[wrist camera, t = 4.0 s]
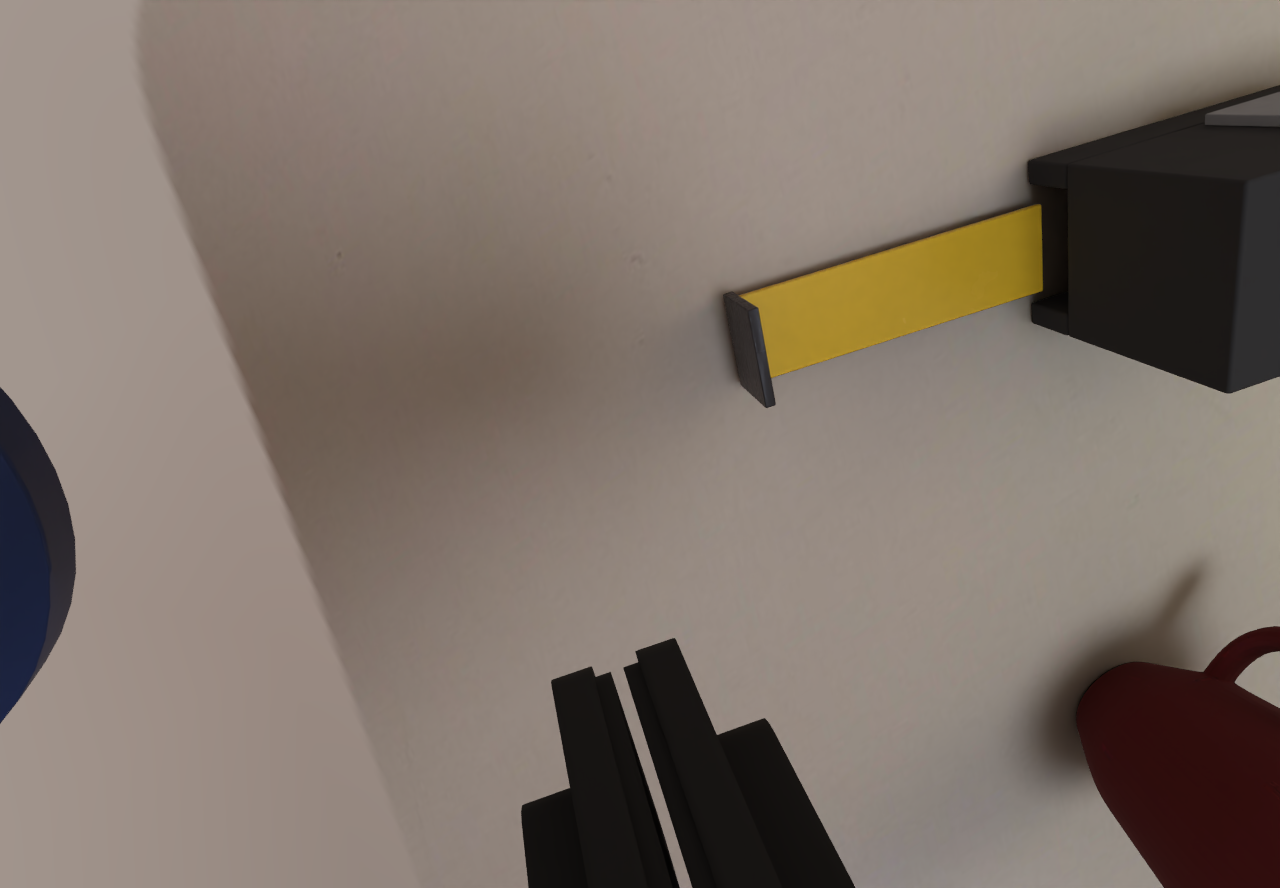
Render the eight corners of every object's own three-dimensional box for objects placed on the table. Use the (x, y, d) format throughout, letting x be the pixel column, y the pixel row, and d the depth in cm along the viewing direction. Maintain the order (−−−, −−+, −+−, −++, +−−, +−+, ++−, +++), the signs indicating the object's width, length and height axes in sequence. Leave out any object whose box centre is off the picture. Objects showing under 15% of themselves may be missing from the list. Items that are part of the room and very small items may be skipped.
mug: (1100, 556, 30) (1386, 749, 21) (1260, 568, 32) (1580, 746, 23) (1002, 779, 33) (1211, 1026, 25) (1152, 775, 36) (1394, 999, 27)
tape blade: (740, 385, 24) (766, 408, 22) (722, 294, 22) (748, 310, 21) (1034, 291, 25) (1081, 306, 23) (1032, 199, 24) (1082, 207, 22)
